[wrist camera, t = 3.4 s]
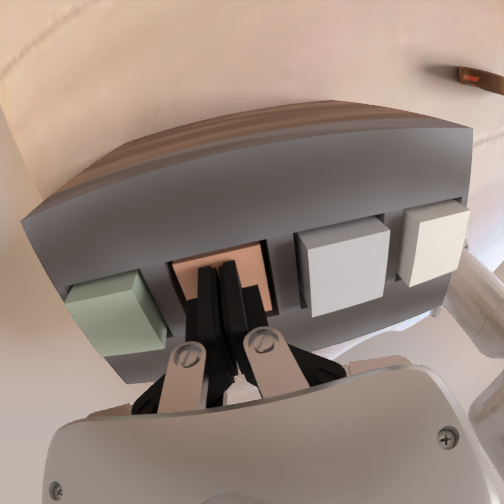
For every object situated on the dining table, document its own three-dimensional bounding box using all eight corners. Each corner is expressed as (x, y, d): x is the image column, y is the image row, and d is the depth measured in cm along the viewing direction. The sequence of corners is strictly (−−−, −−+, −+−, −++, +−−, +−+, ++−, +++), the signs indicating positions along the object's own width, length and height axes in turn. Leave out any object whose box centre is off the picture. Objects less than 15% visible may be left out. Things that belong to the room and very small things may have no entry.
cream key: (434, 248, 15) (457, 269, 13) (387, 262, 15) (409, 287, 13) (442, 192, 13) (470, 210, 11) (392, 202, 13) (419, 222, 11)
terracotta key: (264, 281, 16) (272, 309, 14) (198, 295, 16) (197, 325, 14) (252, 220, 14) (259, 244, 12) (176, 238, 14) (172, 265, 12)
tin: (500, 78, 24) (538, 87, 17) (501, 95, 26) (539, 106, 18) (446, 63, 24) (492, 67, 16) (448, 85, 25) (494, 93, 18)
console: (341, 201, 32) (442, 304, 16) (158, 241, 32) (126, 384, 16) (332, 100, 26) (472, 128, 10) (125, 143, 25) (20, 221, 9)
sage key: (168, 315, 15) (165, 348, 13) (110, 325, 15) (101, 356, 13) (141, 258, 13) (131, 289, 11) (79, 274, 13) (63, 303, 11)
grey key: (362, 269, 15) (382, 296, 13) (298, 286, 15) (312, 317, 13) (364, 207, 13) (390, 230, 11) (291, 223, 13) (307, 249, 11)
